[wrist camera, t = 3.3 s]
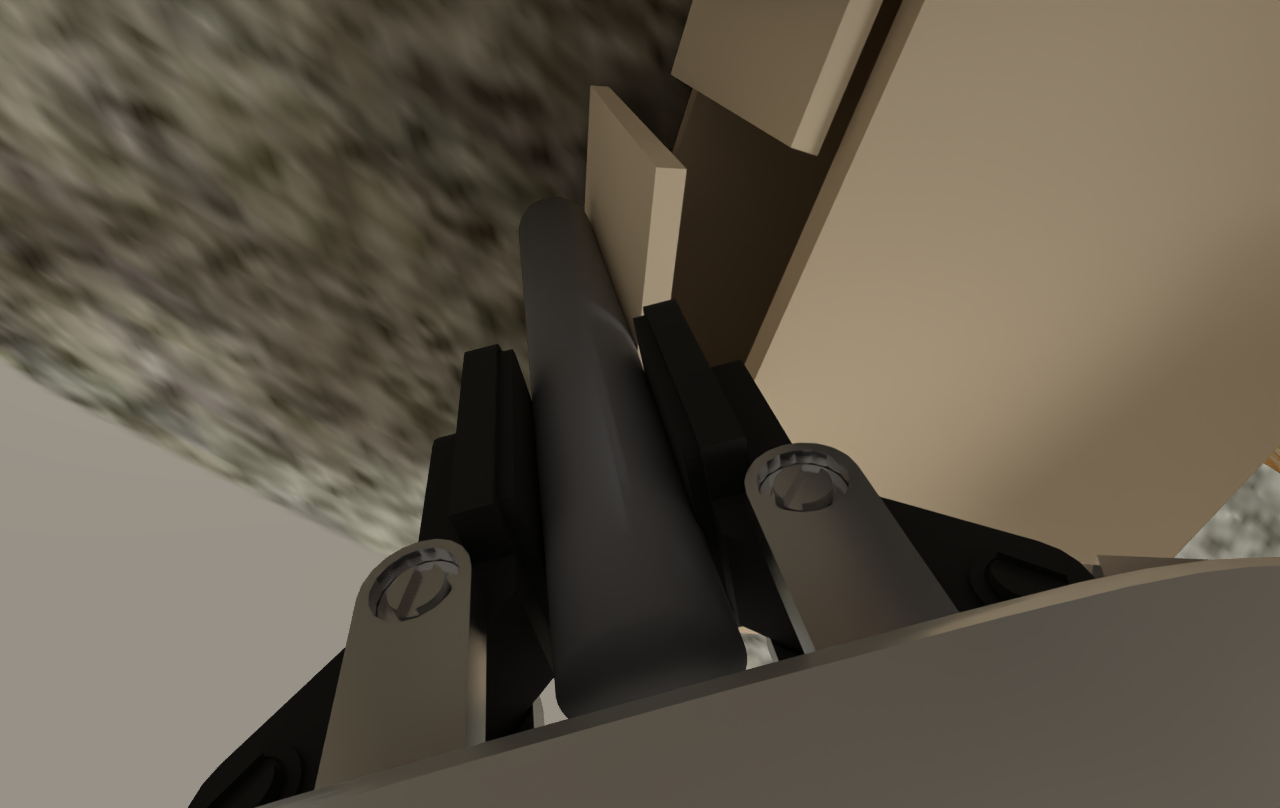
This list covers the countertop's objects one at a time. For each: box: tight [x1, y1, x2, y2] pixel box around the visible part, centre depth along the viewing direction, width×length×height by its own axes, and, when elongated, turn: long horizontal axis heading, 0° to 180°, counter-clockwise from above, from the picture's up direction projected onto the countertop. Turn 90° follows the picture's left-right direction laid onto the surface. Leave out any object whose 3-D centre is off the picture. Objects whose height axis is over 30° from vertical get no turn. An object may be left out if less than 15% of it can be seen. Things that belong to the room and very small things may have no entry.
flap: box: [519, 85, 747, 719], centre depth 14 cm, size 2×9×16 cm, turn 175°
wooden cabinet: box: [671, 0, 1280, 634], centre depth 17 cm, size 14×21×10 cm, turn 163°
